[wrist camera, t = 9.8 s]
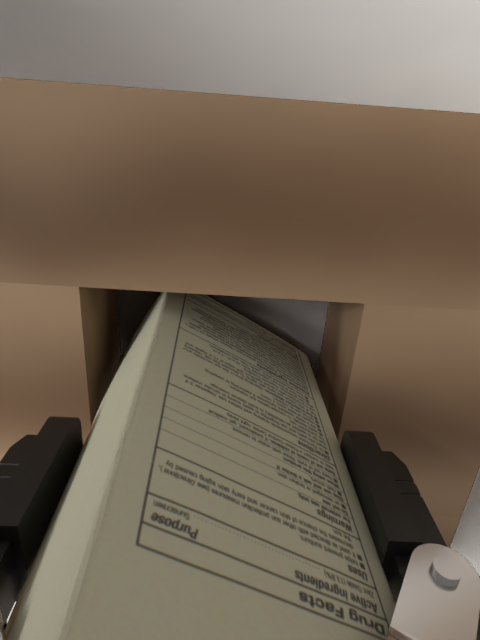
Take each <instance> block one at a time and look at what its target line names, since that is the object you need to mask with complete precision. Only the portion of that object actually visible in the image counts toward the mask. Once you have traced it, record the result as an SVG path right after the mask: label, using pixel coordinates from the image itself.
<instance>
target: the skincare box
mask: <svg viewBox="0 0 480 640" xmlns="http://www.w3.org/2000/svg"><path fill="white" fill-rule="evenodd" d="M395 606H396V603H395V601H394V598H393V595H392V592H391V589H390V587H389V584H388V581H387V578H386V575H385V572H384V570H383V567H382V565H381V562H380V559H379V556H378V553H377V550H376V548H375V545H374V542H373V539H372V536H371V533H370V530H369V528H368V525H367V522H366V519H365V516H364V514H363V511H362V508H361V505H360V502H359V499H358V496H357V494H356V491H355V488H354V485H353V482H352V479H351V477H350V474H349V471H348V468H347V465H346V462H345V460H344V457H343V454H342V451H341V449H340V446H339V443H338V440H337V438H336V435H335V432H334V429H333V426H332V424H331V421H330V418H329V415H328V412H327V410H326V407H325V404H324V401H323V399H322V396H321V393H320V390H319V387H318V384H317V381H316V379H315V376H314V373H313V371H312V368H311V365H310V362H309V359H308V357H307V355H306V354H305V353H304V352H302V351H300V350H299V349H297V348H295V347H294V346H292V345H291V344H289V343H288V342H286V341H284V340H283V339H281V338H279V337H278V336H276V335H275V334H273V333H271V332H270V331H268V330H266V329H264V328H263V327H261V326H259V325H258V324H256V323H254V322H252V321H251V320H249V319H247V318H245V317H244V316H242V315H240V314H238V313H237V312H235V311H233V310H231V309H230V308H228V307H226V306H224V305H222V304H221V303H219V302H217V301H215V300H213V299H212V298H210V297H208V296H206V295H204V294H190V293H173V292H161V293H160V294H159V296H158V297H157V299H156V300H155V302H154V303H153V305H152V307H151V308H150V310H149V311H148V313H147V314H146V316H145V317H144V319H143V320H142V322H141V324H140V325H139V327H138V328H137V330H136V332H135V333H134V335H133V337H132V338H131V340H130V342H129V344H128V345H127V347H126V349H125V351H124V353H123V355H122V356H121V358H120V360H119V362H118V364H117V367H116V369H115V371H114V374H113V376H112V378H111V381H110V383H109V386H108V388H107V390H106V393H105V395H104V397H103V400H102V402H101V404H100V406H99V409H98V411H97V413H96V416H95V418H94V421H93V423H92V426H91V428H90V431H89V433H88V435H87V438H86V440H85V442H84V444H83V447H82V449H81V452H80V454H79V456H78V459H77V461H76V463H75V466H74V468H73V471H72V473H71V475H70V478H69V480H68V482H67V485H66V487H65V489H64V491H63V494H62V496H61V498H60V501H59V503H58V505H57V508H56V510H55V512H54V515H53V517H52V519H51V522H50V524H49V526H48V529H47V531H46V534H45V536H44V538H43V541H42V543H41V546H40V548H39V550H38V553H37V555H36V558H35V560H34V562H33V565H32V567H31V570H30V572H29V574H28V577H27V579H26V581H25V584H24V586H23V588H22V591H21V593H20V595H19V598H18V600H17V602H16V605H15V607H14V609H13V612H12V614H11V616H10V619H9V621H8V624H7V626H6V628H5V637H6V640H385V639H386V635H387V632H388V629H389V626H390V622H391V619H392V616H393V612H394V609H395Z"/></svg>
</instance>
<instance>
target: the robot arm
mask: <svg viewBox="0 0 480 640" xmlns="http://www.w3.org/2000/svg"><path fill="white" fill-rule="evenodd" d="M82 447H83V438H82V428H81V421H80V419H79V418H78V417H56V416H50V417H49V418H48V419H47V420H46V422H45V423H44V425H43V427H42V428H41V430H40V431H39V433H38V435H28V434H27V435H26V436H24V437H23V438H22V439H20V440H19V441H18V442H16V443H15V444H14V445H12V446H11V447H10V448H9V449H8V451H7V452H6V454H5V455H4V457H3V458H2V460H1V461H0V640H6V637H5V628H6V626H7V624H8V623H7V618H8V616H9V614H10V611H11V609H12V607H13V605H14V603H15V601H17V600H18V598H19V595H20V593H21V591H22V588H23V586H24V584H25V581H26V579H27V577H28V574H29V572H30V570H31V567H32V565H33V562H34V560H35V558H36V555H37V553H38V550H39V548H40V546H41V543H42V541H43V538H44V536H45V534H46V531H47V529H48V526H49V524H50V522H51V519H52V517H53V515H54V512H55V510H56V508H57V505H58V503H59V501H60V498H61V496H62V494H63V491H64V489H65V487H66V485H67V482H68V480H69V478H70V475H71V473H72V471H73V468H74V466H75V463H76V461H77V459H78V456H79V454H80V452H81V449H82ZM340 449H341V451H342V454H343V457H344V460H345V462H346V465H347V468H348V471H349V474H350V477H351V479H352V482H353V485H354V488H355V491H356V494H357V496H358V499H359V502H360V505H361V508H362V511H363V514H364V516H365V519H366V522H367V525H368V528H369V530H370V533H371V536H372V539H373V542H374V545H375V548H376V550H377V553H378V556H379V559H380V562H381V565H382V567H383V570H384V572H385V575H386V578H387V581H388V584H389V587H390V589H391V592H392V595H393V598H394V601H395V603H396V606H395V609H394V612H393V616H392V619H391V622H390V626H389V629H388V632H387V635H386V639H385V640H480V576H479V575H478V573H477V572H476V570H475V568H474V567H473V566H472V565H471V563H470V562H469V561H468V560H467V559H465V558H464V557H463V556H462V555H461V554H459V553H458V552H456V551H454V550H453V549H451V548H448V547H447V545H446V543H445V541H444V539H443V537H442V535H441V533H440V531H439V529H438V527H437V525H436V523H435V521H434V519H433V517H432V515H431V514H430V512H429V510H428V508H427V506H426V504H425V502H424V500H423V498H422V497H421V496H420V492H419V490H418V488H417V486H416V484H414V480H413V478H412V476H411V474H410V472H409V470H408V468H407V466H406V465H405V464H404V463H403V462H402V461H401V460H400V459H399V458H398V457H397V456H396V455H395V454H394V453H393V452H392V451H382V450H381V448H380V446H379V444H378V441H377V439H376V437H375V435H374V433H373V432H366V431H344V433H343V436H342V440H341V445H340Z"/></svg>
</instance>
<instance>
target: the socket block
mask: <svg viewBox="0 0 480 640" xmlns="http://www.w3.org/2000/svg"><path fill="white" fill-rule="evenodd" d="M117 289H122V290H139V291H156V292H173V293H190V294H207V295H224V296H241V297H258V298H275V299H292V300H309V301H326V302H329V304H328V310H327V316H326V323H325V329H324V335H323V341H322V347H321V354H320V360H319V366H318V372H317V379H316V381H317V384H318V387H319V390H320V393H321V396H322V399H323V401H324V404H325V407H326V410H327V412H328V415H329V418H330V421H331V424H332V426H333V429H334V432H335V435H336V438H337V440H338V443H339V446H340V445H341V440H342V436H343V433H344V431H366V432H373V433H374V435H375V437H376V439H377V441H378V444H379V446H380V448H381V450H382V451H392V452H393V453H394V454H395V455H396V456H397V457H398V458H399V459H400V460H401V461H402V462H403V463H404V464H405V465H406V466H407V468H408V470H409V472H410V474H411V476H412V478H413V480H414V484H416V486H417V488H418V490H419V492H420V496H421V497H422V498H423V500H424V502H425V504H426V506H427V508H428V510H429V512H430V514H431V515H432V517H433V519H434V521H435V523H436V525H437V527H438V529H439V531H440V533H441V535H442V537H443V539H444V541H445V543H446V545H447V547H448V548H450V545H451V542H452V540H453V537H454V534H455V531H456V529H457V526H458V523H459V521H460V518H461V515H462V513H463V510H464V507H465V505H466V502H467V499H468V497H469V494H470V491H471V488H472V486H473V483H474V480H475V478H476V475H477V472H478V470H479V467H480V114H476V113H463V112H450V111H436V110H423V109H410V108H397V107H384V106H371V105H357V104H344V103H331V102H318V101H305V100H292V99H279V98H265V97H252V96H239V95H226V94H213V93H200V92H186V91H173V90H160V89H147V88H134V87H121V86H108V85H94V84H81V83H68V82H55V81H42V80H29V79H15V78H2V77H0V461H1V460H2V458H3V457H4V455H5V454H6V452H7V451H8V449H9V448H10V447H11V446H12V445H14V444H15V443H16V442H18V441H19V440H20V439H22V438H23V437H24V436H26V435H27V434H28V435H38V433H39V431H40V430H41V428H42V427H43V425H44V423H45V422H46V420H47V419H48V418H49V417H50V416H56V417H78V418H79V419H80V421H81V428H82V438H83V444H84V442H85V440H86V438H87V435H88V433H89V431H90V428H91V426H92V423H93V421H94V418H95V416H96V413H97V411H98V409H99V406H100V404H101V402H102V400H103V397H104V395H105V393H106V390H107V388H108V386H109V383H110V381H111V378H112V376H113V374H114V371H115V369H116V367H117V364H118V362H119V360H120V340H119V320H118V300H117Z"/></svg>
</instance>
